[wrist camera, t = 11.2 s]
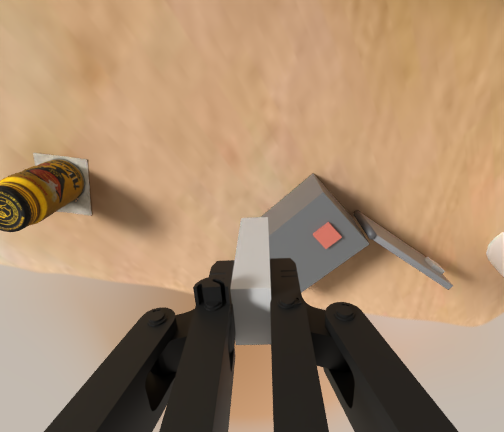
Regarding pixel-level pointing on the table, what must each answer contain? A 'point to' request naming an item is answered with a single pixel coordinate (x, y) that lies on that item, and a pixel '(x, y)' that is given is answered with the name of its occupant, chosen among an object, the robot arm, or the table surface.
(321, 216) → the camera box
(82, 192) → the condiment
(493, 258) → the foam cup
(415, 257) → the side door
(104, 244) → the table surface
